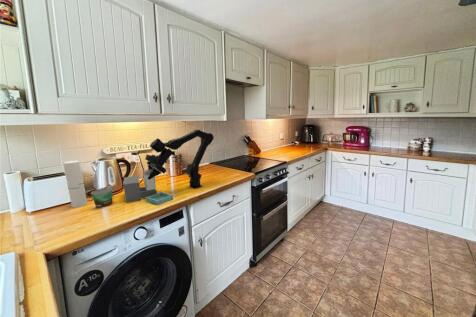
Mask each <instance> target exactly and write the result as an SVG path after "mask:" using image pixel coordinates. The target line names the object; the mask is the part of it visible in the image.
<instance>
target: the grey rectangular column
mask: <svg viewBox="0 0 476 317" xmlns="http://www.w3.org/2000/svg"><path fill="white" fill-rule="evenodd" d="M62 165H63V167H64V168H63V169H64V174H65V179H66V183H67V188H68V195H69V199H70V206H71V208H81V207H84V206H86V205H87V204H88V201H87V196H86V195H87V194H86V190H85V189H86V188H85V183H84V178H83V177H84V176H83V172H82V167H81V161H80V160H68V161H64V162H63V164H62Z"/></svg>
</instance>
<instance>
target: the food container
mask: <svg viewBox="0 0 476 317" xmlns="http://www.w3.org/2000/svg"><path fill="white" fill-rule="evenodd" d="M113 190H114V187H113V186H112V184H107V185H106V186H105V187H104V186H103V187H100V188H99V189H97V190H91V196H92V199H93V202H94V205H95V208H96V209H99V208H101V209H102V208H105V207H110V206H111V205H112V204H113Z"/></svg>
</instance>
